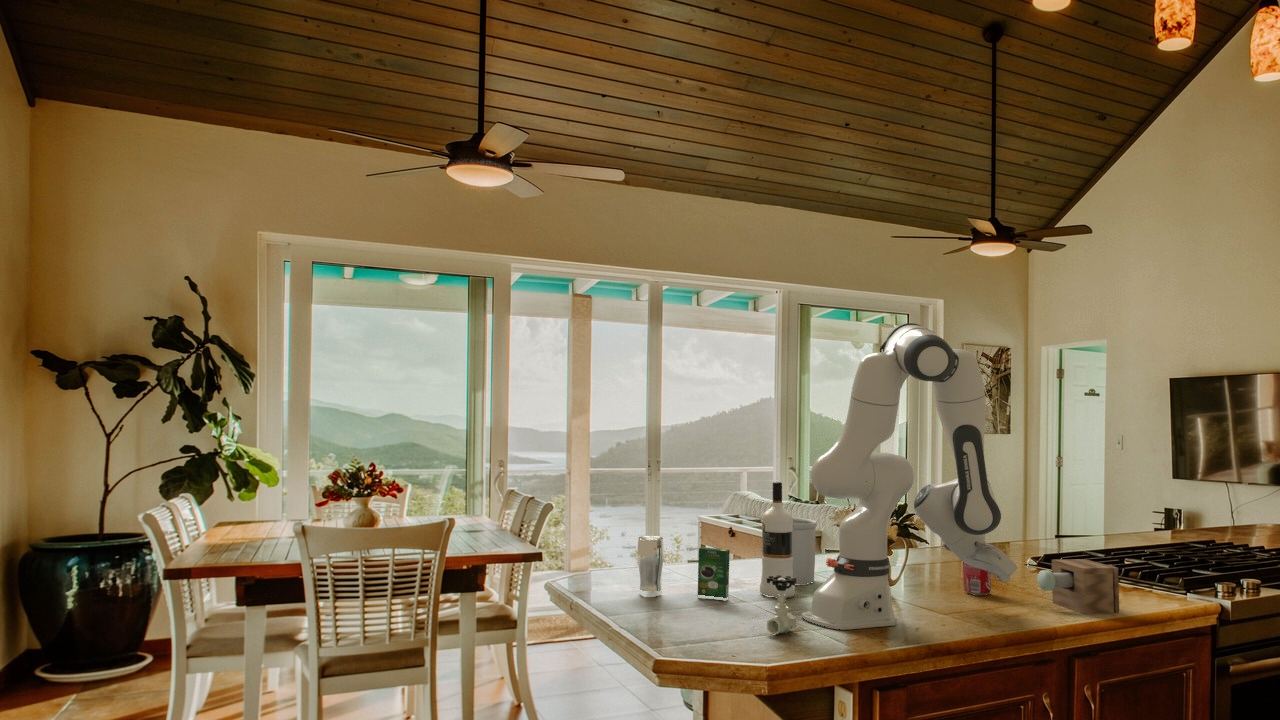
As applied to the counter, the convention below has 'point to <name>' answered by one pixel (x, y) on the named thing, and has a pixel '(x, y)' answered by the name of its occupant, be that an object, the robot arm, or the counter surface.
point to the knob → (1054, 580)
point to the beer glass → (650, 562)
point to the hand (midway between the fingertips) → (1005, 579)
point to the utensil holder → (803, 549)
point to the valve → (781, 607)
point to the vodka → (776, 544)
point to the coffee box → (713, 572)
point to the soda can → (976, 580)
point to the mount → (1088, 586)
